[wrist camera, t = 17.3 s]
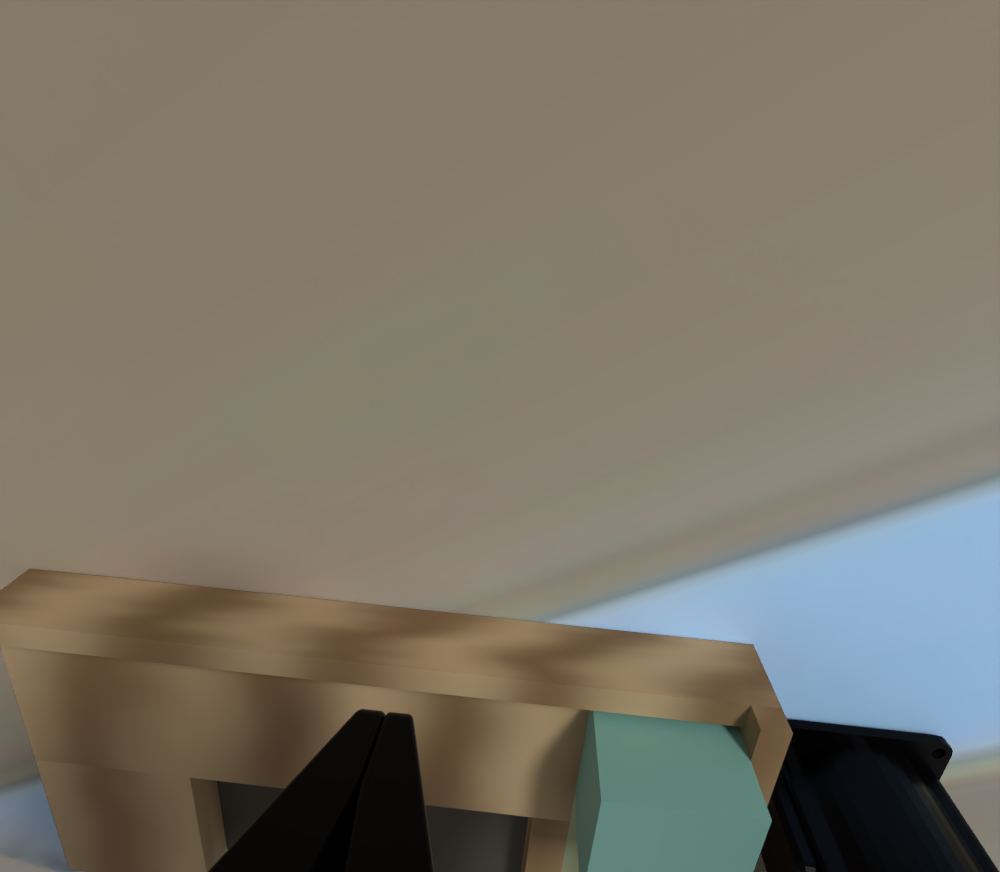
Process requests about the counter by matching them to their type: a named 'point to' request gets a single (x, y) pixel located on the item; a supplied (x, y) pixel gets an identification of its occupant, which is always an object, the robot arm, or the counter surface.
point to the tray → (333, 713)
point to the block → (667, 797)
